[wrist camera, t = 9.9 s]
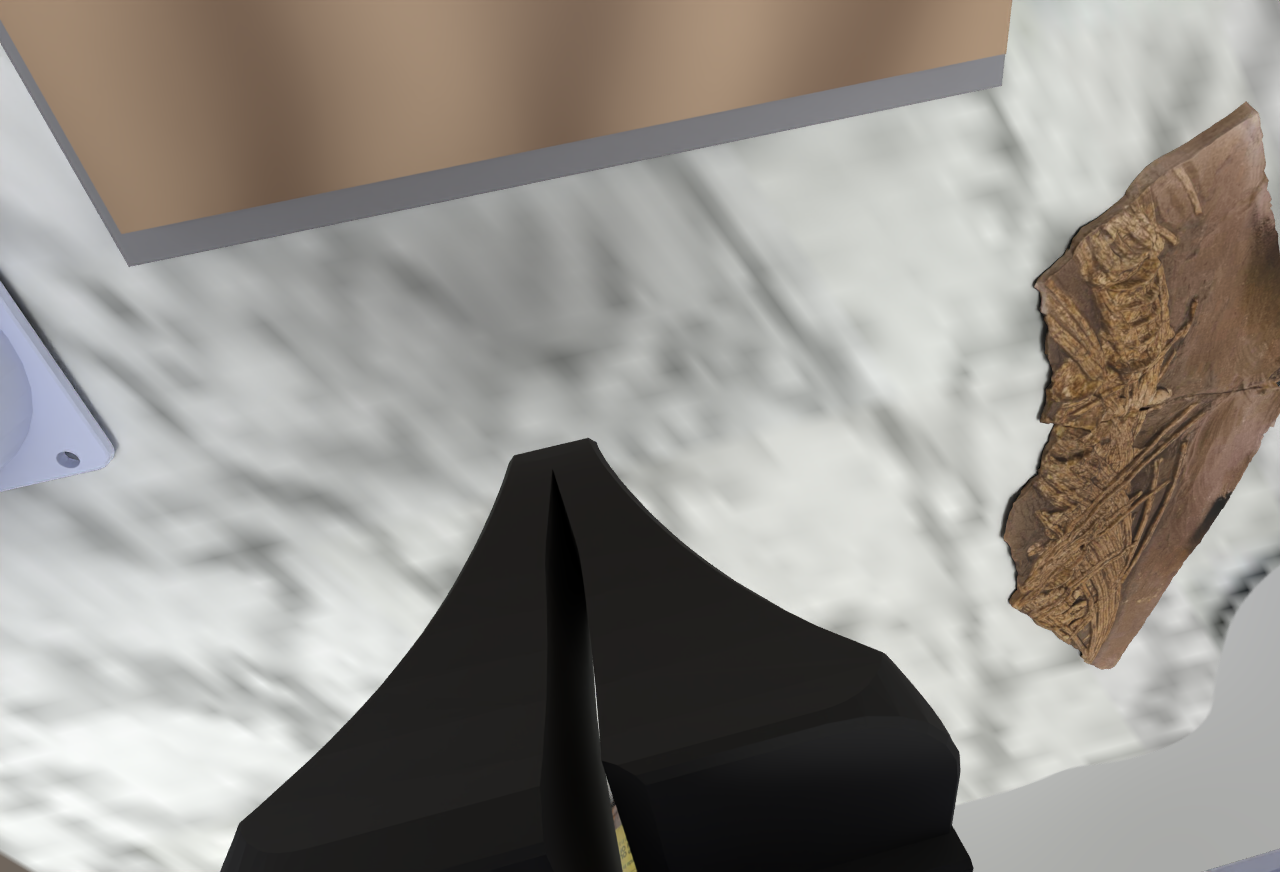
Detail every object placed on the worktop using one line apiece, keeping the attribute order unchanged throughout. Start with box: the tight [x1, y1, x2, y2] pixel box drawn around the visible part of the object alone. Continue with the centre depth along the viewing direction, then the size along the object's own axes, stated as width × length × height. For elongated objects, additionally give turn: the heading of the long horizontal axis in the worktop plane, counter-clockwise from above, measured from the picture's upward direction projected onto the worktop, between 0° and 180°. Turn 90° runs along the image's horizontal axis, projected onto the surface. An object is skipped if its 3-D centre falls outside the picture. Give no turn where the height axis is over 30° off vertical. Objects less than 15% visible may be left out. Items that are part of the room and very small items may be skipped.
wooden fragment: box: [1004, 102, 1280, 670], centre depth 27 cm, size 26×11×1 cm, turn 11°
